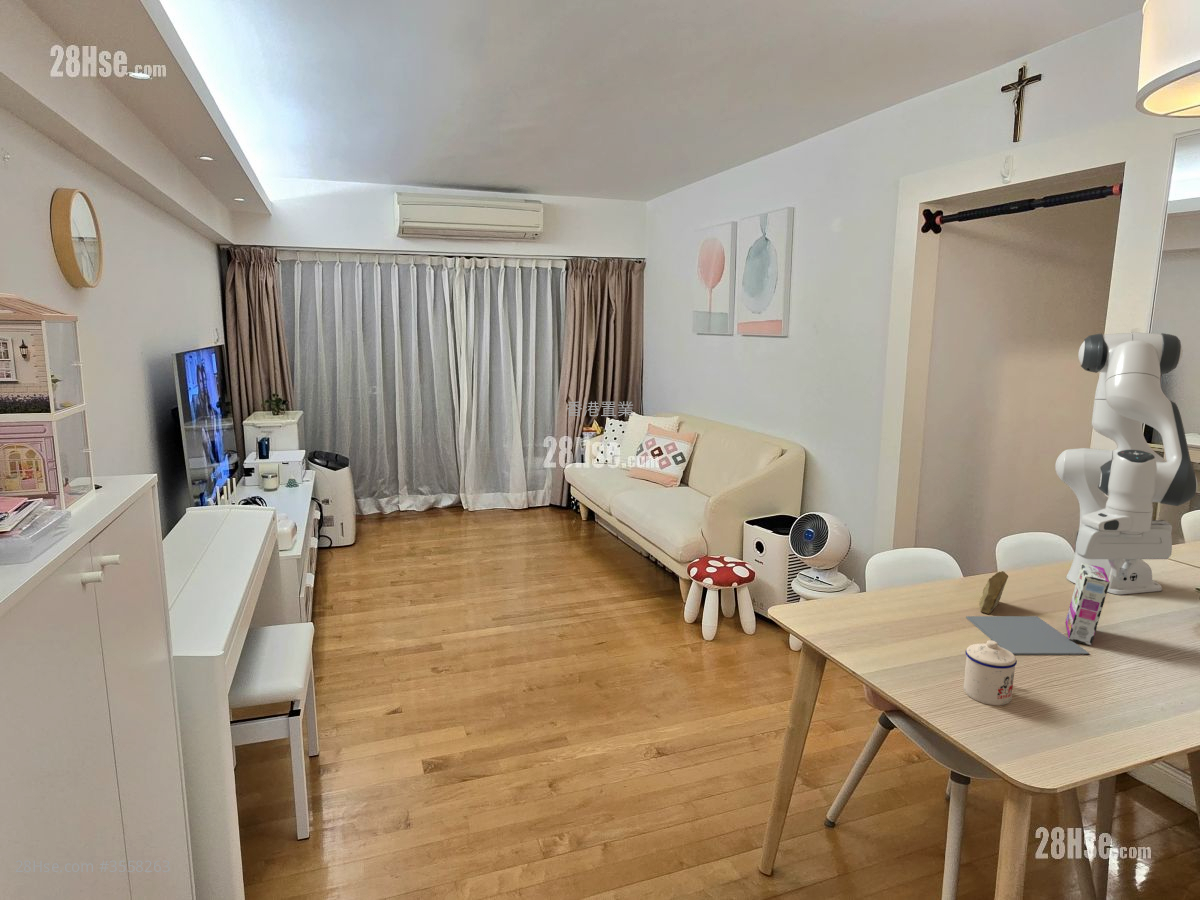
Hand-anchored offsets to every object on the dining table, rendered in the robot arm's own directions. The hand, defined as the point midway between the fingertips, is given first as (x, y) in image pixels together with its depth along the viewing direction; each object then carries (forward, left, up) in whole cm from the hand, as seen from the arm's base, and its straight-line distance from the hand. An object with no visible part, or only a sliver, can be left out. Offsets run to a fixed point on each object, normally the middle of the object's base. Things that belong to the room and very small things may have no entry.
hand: (1119, 576), depth 164 cm
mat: (+21, 0, -15) cm, 26 cm away
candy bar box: (+8, 0, -15) cm, 17 cm away
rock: (+21, -17, -15) cm, 31 cm away
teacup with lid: (+43, +26, -15) cm, 52 cm away
